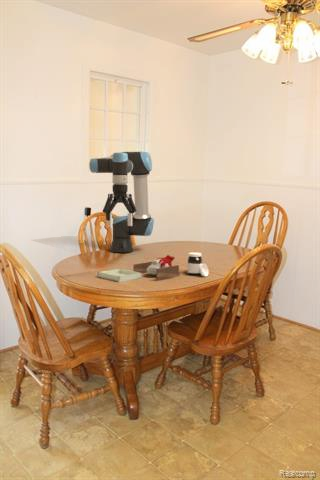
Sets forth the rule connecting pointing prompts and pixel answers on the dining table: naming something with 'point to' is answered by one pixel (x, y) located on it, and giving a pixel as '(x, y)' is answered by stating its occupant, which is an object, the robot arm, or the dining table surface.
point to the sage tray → (119, 275)
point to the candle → (160, 264)
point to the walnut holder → (158, 271)
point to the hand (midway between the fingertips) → (119, 226)
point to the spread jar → (196, 265)
